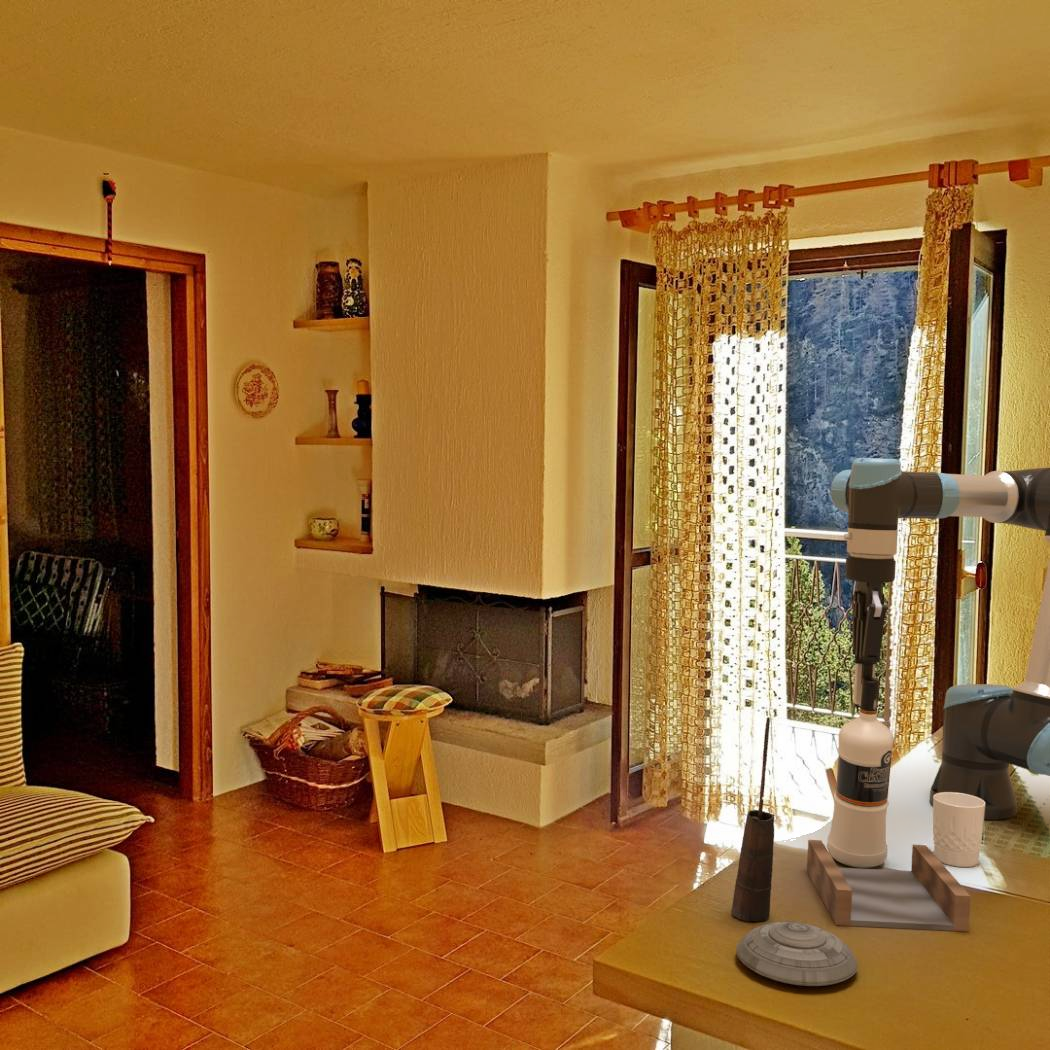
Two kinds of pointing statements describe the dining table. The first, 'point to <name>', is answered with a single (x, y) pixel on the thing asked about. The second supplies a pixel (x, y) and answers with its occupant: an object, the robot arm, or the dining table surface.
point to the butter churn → (756, 859)
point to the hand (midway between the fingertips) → (863, 703)
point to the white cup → (957, 828)
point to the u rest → (890, 893)
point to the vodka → (862, 786)
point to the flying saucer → (797, 954)
